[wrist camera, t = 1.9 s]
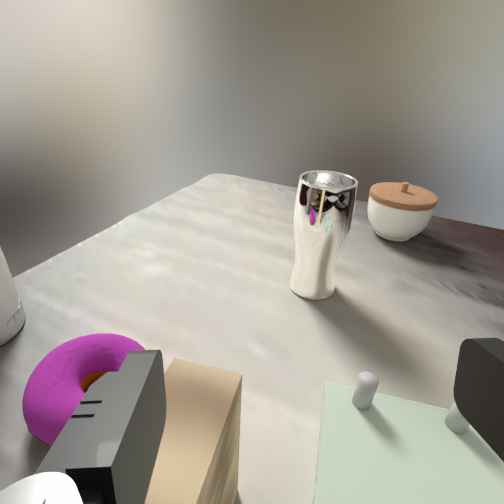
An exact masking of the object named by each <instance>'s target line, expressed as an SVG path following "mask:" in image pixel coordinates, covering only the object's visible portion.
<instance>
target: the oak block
mask: <svg viewBox="0 0 504 504" xmlns="http://www.w3.org/2000/svg"><path fill="white" fill-rule="evenodd" d="M164 381H165V391H166V405H167V409H166V422H165V427H164V431H163V435H162V439H161V443H160V447H159V450H158V454H157V458H156V462H155V466H154V469H153V473H152V477H151V481H150V485H149V489H148V492H147V496H146V500H145V504H234V500H235V496H236V493H237V487H238V462H239V437H240V413H241V388H242V374H239V373H235V372H230V371H226V370H222V369H218V368H214V367H210V366H205V365H201V364H197V363H193V362H189V361H185V360H180V359H176V358H174V359H173V361H172V362H171V364H170V366H169V367H168V369H167V371H166V372H165V374H164Z"/></svg>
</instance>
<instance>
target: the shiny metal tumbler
mask: <svg viewBox="0 0 504 504" xmlns="http://www.w3.org/2000/svg"><path fill="white" fill-rule="evenodd" d="M357 185H358V181H357V180H356V179H355V178H354V177H352V176H349V175H347V174H344V173H340V172H334V171H324V170H318V171H317V170H315V171H308V172H305V173H302V174H301V175H300V180H299V185H298V190H297V195H296V200H295V207H294V218H293V229H294V244H295V265H294V269H293V272H292V275H291V278H290V281H289V285H290V288H291V290H292V291H293V292H294V293H295V294H297V295H299V296H301V297H303V298H306V299H311V300H321V299H326V298H328V297H330V296H331V295H332V294H333V293H334V290H335V280H334V276H335V268H336V264H337V261H338V259H339V256H340V254H341V251H342V249H343V247H344V244H345V242H346V239H347V237H348V234H349V231H350V228H351V224H352V220H353V215H354V209H355V202H356V192H357Z"/></svg>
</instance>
